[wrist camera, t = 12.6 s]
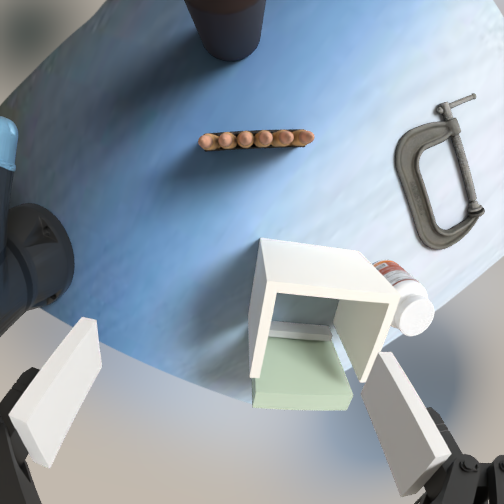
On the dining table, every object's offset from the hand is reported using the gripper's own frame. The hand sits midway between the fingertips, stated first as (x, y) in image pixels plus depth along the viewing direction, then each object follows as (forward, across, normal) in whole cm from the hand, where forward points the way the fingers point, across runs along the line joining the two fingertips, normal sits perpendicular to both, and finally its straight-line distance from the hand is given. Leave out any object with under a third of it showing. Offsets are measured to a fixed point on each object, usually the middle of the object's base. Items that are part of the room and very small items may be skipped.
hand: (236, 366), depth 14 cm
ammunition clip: (+27, 0, +10) cm, 29 cm away
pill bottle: (+27, +20, -5) cm, 34 cm away
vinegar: (+27, -4, +23) cm, 35 cm away
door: (+27, +9, -16) cm, 32 cm away
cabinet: (+27, +9, -10) cm, 30 cm away
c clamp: (+28, +27, +12) cm, 41 cm away
